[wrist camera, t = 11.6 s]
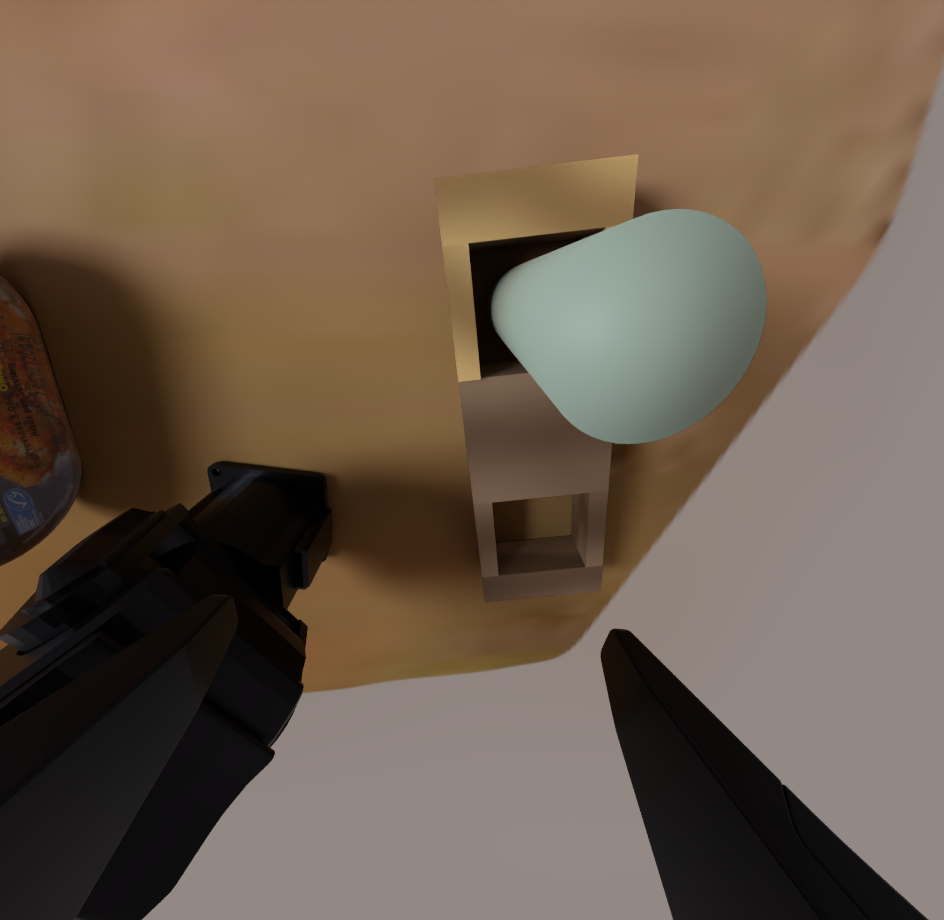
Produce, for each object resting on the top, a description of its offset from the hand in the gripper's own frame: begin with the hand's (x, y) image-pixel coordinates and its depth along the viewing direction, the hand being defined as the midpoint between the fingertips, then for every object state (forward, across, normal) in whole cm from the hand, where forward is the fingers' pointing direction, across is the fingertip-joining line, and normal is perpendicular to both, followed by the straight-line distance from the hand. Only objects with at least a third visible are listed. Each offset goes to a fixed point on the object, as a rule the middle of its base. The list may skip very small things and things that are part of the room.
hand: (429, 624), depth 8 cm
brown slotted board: (+13, -4, -1) cm, 14 cm away
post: (+13, -3, -7) cm, 15 cm away
